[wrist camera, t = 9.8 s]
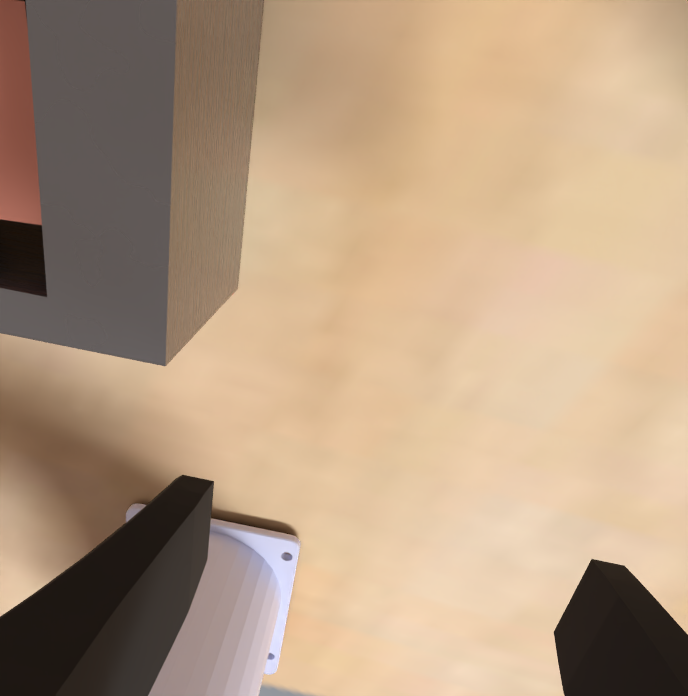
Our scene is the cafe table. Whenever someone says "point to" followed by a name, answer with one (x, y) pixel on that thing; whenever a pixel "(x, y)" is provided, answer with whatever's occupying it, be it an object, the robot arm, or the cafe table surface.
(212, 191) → the box with rectangular hole
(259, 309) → the cafe table surface
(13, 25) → the tall pink block
